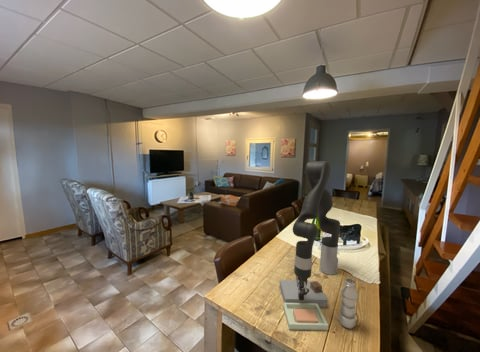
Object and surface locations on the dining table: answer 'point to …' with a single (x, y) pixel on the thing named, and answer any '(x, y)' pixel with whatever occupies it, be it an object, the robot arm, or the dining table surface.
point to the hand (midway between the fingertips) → (300, 299)
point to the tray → (294, 325)
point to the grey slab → (291, 292)
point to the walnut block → (316, 286)
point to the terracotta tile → (305, 316)
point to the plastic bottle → (348, 304)
